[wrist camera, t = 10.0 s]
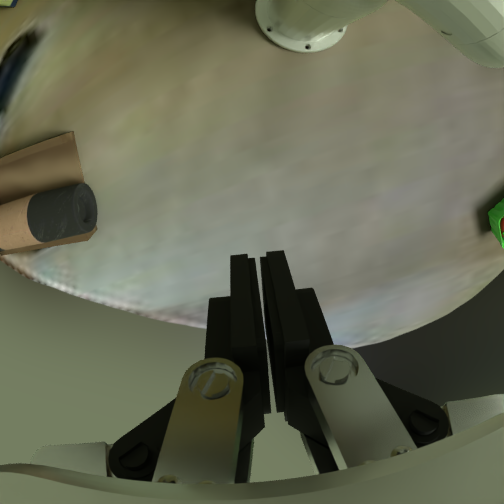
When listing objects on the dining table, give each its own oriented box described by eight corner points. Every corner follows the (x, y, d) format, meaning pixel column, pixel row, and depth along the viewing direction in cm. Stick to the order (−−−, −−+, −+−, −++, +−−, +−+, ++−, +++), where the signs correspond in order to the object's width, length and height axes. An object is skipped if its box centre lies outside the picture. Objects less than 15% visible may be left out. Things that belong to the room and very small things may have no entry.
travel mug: (77, 237, 36) (-15, 255, 36) (101, 231, 44) (12, 248, 44) (70, 179, 35) (-21, 208, 35) (95, 182, 43) (7, 206, 43)
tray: (-13, 164, 38) (-27, 170, 34) (73, 131, 38) (60, 135, 34) (12, 245, 45) (1, 255, 42) (97, 229, 45) (88, 240, 42)
